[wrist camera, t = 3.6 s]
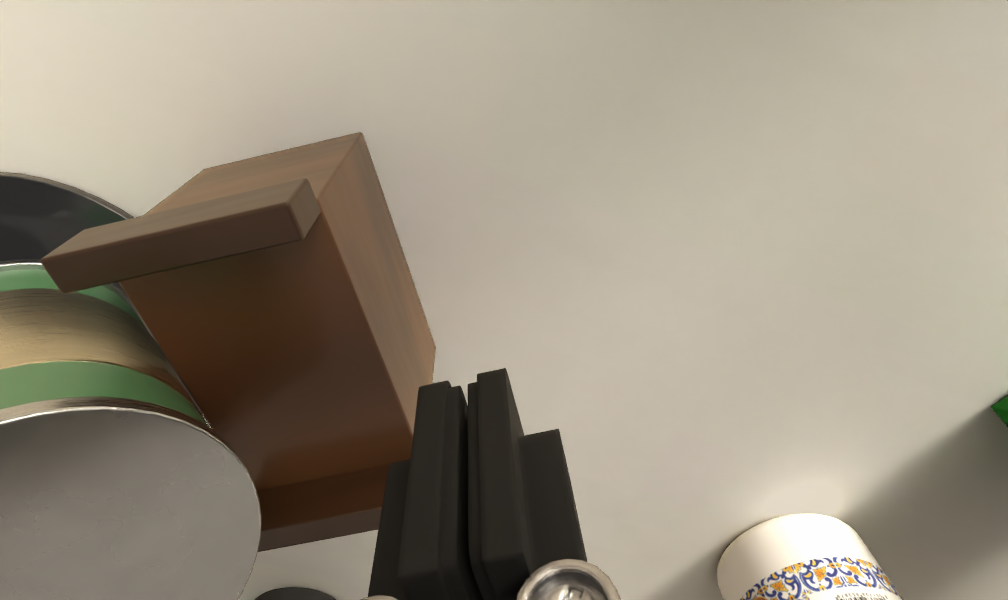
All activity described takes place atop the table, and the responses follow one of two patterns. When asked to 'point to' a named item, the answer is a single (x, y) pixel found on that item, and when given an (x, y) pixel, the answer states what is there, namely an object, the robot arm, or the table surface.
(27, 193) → the coaster
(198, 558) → the can
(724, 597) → the bath foam
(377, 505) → the rest
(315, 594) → the drinking cup
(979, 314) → the table surface
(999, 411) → the milk carton
